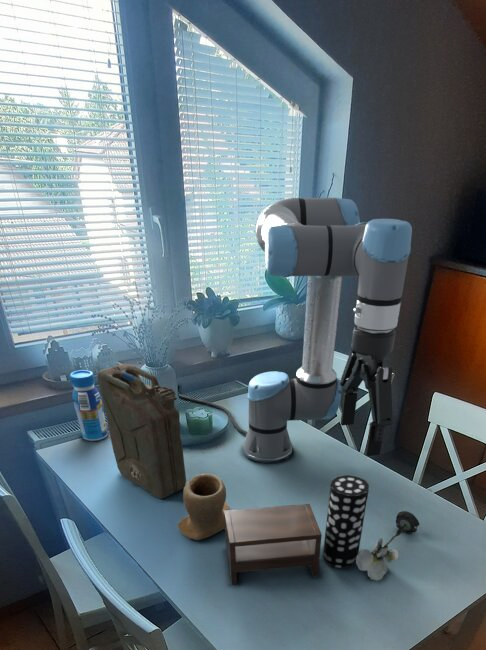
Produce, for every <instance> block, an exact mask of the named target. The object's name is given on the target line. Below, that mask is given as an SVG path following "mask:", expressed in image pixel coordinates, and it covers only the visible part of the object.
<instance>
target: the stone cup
mask: <svg viewBox="0 0 486 650" xmlns="http://www.w3.org/2000/svg"><path fill="white" fill-rule="evenodd" d="M182 493H183V494H182V497H183V506H184V508H185V510H186V512H187V514H188V515H187V516H185V517H184V518H182V519H180V521H178V523H177V527H178V530H179V531H180V533H181V534H182V535H183V536H185V537H186V538H188V539H191V540H194V541H202V540H205V539H207V538H210V537H212V536H214V535H216V534H217V533H219V532H221V531H223V530H225V520H224V511H227V510H231V508H230V505H229V504H228V503H227V502H226V500H227V488H226V485H225V483H224V481H223V479H222V478H221V477H220V476H218V475H216V474H212V473H199V474H197V475H194V476H193V477H191V479H189V480H188V481H186V483H185V487H184V488H183V492H182Z"/></svg>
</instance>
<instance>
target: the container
mask: <svg viewBox="0 0 486 650" xmlns="http://www.w3.org/2000/svg"><path fill="white" fill-rule="evenodd" d="M141 377H143V378H145V379H147V380H148V381H151V385H152V386H150V385H149V384H147V383H146V382H145V381H144V380H143V379H142V378H141ZM97 381H98V386H99V391H100V396H101V400H102V405H103V409H104V412H105V416H106V420H107V421H106V422H107V429H108V434H109V437H110V443H111V445H112V451H113V455H114V459H115V462H116V463H115V464H116V466H117V469H118V471H119V473H120V475H121V476H122V477H123V478H124V479H126V480H128V481H129V482H131V483H133V484H134V485H137V486H139V487H141V488H142V489H143V490H145V491H146V492H147V493H149V494H151V496H153V497H155V498H157V499H165V498H167V497H169V496H172V495H173V494H175V493H177V492H179V491H181V490H184V487H185V485H186V483H187V476H186V466H185V458H184V450H183V449H184V448H183V441H182V437H181V435H182V433H181V422H180V421H181V420H180V414H179V410H178V408H177V406H176V405H175V401H177V400H178V398H177V397H176V393H175V389H173V388H172V387H171V388H170V387H166V386H160V384H159V381H158V379H157V377H156V376H155V375H154V374H152V373H151V372H148V371H146V370H144V369H141V368H139V367H138V366H136V365H133V364H131V363H121V364H117V365H114V366H111V367H107V368H105V369H102V370H101V369H100V370H99V371H98V373H97Z"/></svg>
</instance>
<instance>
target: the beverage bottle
mask: <svg viewBox="0 0 486 650" xmlns="http://www.w3.org/2000/svg"><path fill="white" fill-rule="evenodd" d="M69 380H70V383H71V386H72V387H73V391H72V395H71V397H72V401H74V402H73V407H74V410H75V413H76V417H77V420H78V421H77V422H78V423H79V424H78V425H79V428H80V433H81V437H82V438H83V439H84V440H86V441H90V442H91V441H92V442H95V441H100V440H104V439H105V438H107V436H108V434H109V429H108V425H107V421H106V418H105V413H104V412H105V411H104V406H103V400H102V398H101V392H99V391H100V390H98V388H97V387H96V386H95V382H96V381H95V376H94V374H93V371H91V370H87V369H78V370H74V371H72V372H71V373H70V374H69Z"/></svg>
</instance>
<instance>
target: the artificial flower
mask: <svg viewBox="0 0 486 650" xmlns="http://www.w3.org/2000/svg"><path fill="white" fill-rule="evenodd" d="M395 525H396V528H397V529H396V530H397V531H396V532H395V533H396V534H394V535H393V536H392V537H391V539H390V540H389V541H387V542H386V544H384V545H383V541H384V539H383V537H380V538H379V539H378V541H377V542H376V544H374V546H373V551H370V550H369V549H361V550H359V552H358V555H357V556H356V563H355V564H356V566H357V567H358V569H359V570H360V571H363V572H365V571H366V572H367V576H368V577H369V578H370V580H372V581H380V580H382V579H383V577H384V576H385V575H386V574H387V572H388V566H387V564H390V563H391V562H394V561H397V560H398V559H399V553H400V551H399V549H397V548H392V549H389V545H390V543H391V542H392V541H394V539H395V538H396V537H399V536H400V535H402V533H403V532H404V533H406V534H412V533H417V531H418V529H417V528H418V527H419V526H420V522H419V519H418V518H417V517H416V515H414V514H413V513H412V512H410V511H407V510H402V511H399V512H397V513H396V516H395ZM383 559H384V560H383Z"/></svg>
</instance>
